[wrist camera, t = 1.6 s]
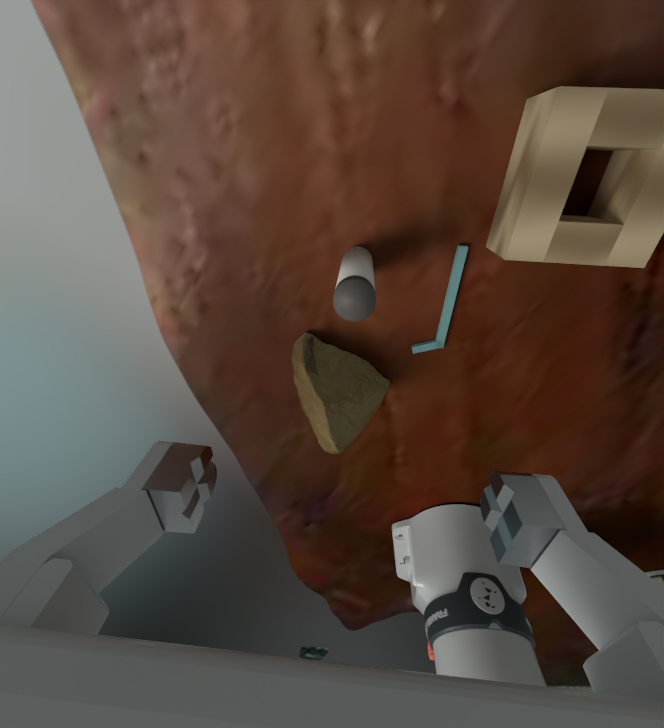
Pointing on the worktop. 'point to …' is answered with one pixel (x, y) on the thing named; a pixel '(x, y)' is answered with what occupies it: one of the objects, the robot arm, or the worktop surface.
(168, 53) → the worktop surface
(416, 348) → the hex key
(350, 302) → the long grey cylinder
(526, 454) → the worktop surface
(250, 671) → the robot arm
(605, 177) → the wooden block with hole
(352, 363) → the rock
